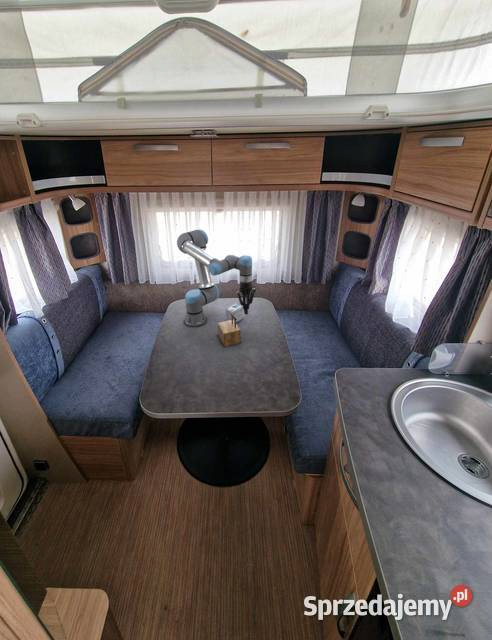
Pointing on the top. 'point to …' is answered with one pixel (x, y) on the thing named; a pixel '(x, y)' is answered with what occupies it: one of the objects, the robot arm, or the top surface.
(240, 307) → the light bulb box
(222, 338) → the light wood box
